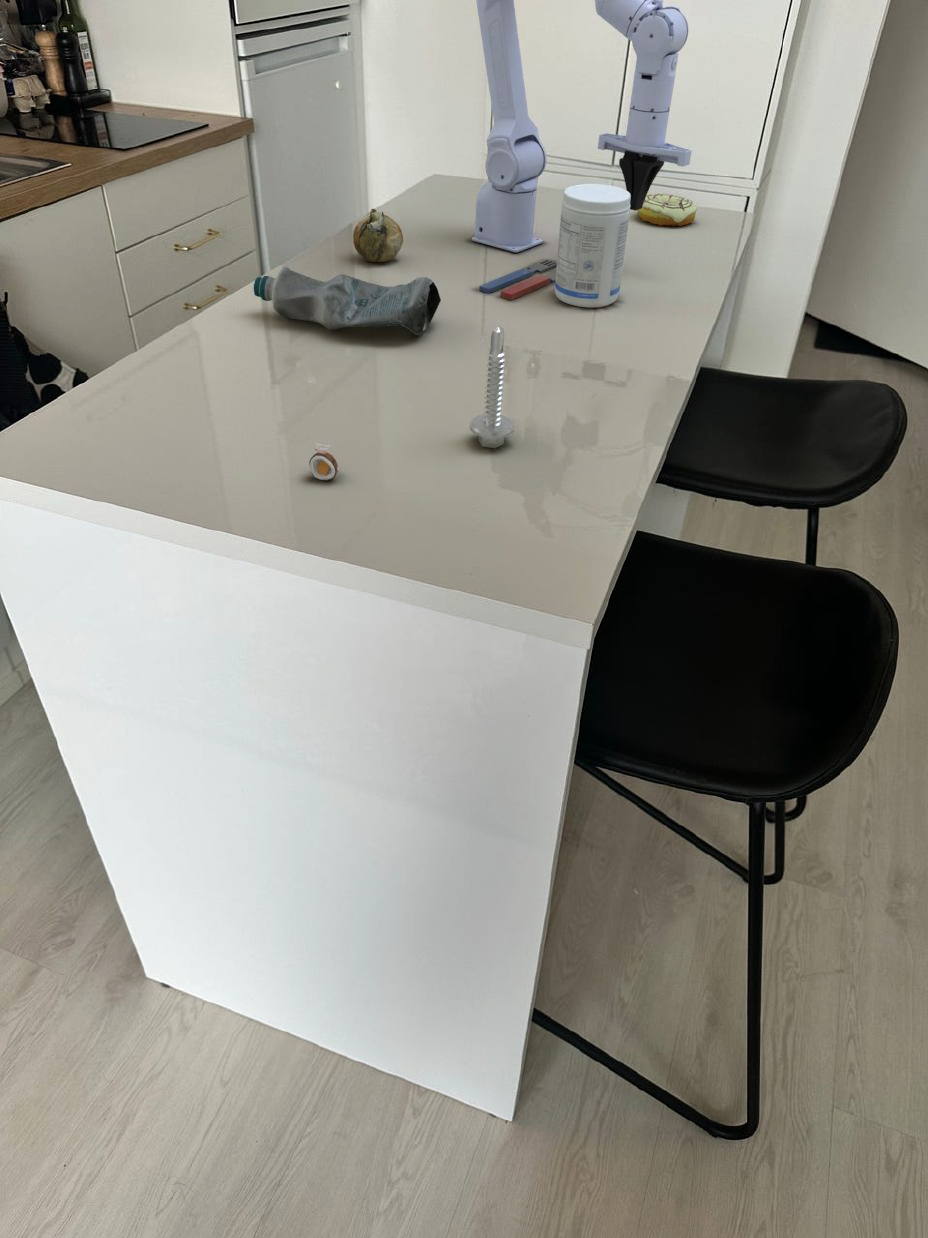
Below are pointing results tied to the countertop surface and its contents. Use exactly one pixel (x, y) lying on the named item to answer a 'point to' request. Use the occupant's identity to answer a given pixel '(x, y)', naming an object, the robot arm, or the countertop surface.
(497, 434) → the screw
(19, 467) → the countertop surface
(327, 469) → the chocolate
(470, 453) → the countertop surface
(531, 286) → the knife
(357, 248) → the onion
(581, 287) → the supplement tub
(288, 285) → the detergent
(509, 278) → the fork
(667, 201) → the decorated donut
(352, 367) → the countertop surface
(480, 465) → the countertop surface
